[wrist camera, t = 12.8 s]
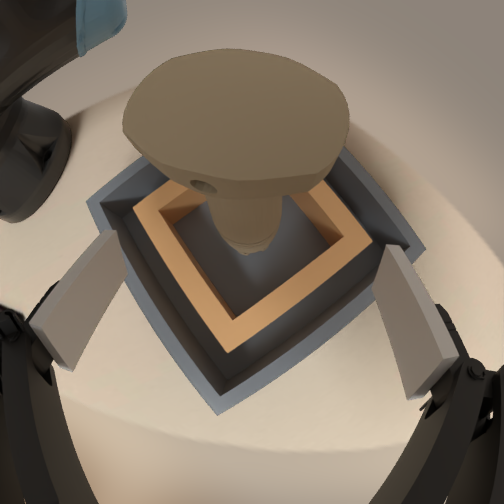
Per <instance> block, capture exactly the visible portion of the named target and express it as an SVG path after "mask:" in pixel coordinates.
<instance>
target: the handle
mask: <svg viewBox="0 0 504 504" xmlns="http://www.w3.org/2000/svg"><path fill="white" fill-rule="evenodd" d="M122 125H123V133H124V134H125V135H126V137H127V138H128V140H129V141H130V142H131V143H132V145H133V146H134V147H135V148H136V149H137V150H138V151H139V152H140V153H141V154H142V155H143V156H144V157H145V158H146V159H147V160H148V161H149V162H150V163H151V164H152V165H154V166H155V167H156V168H157V169H158V170H160V171H161V172H162V173H163V174H165V175H166V176H167V177H168V178H170V179H171V180H172V181H174V182H176V183H178V184H180V185H183V186H185V187H187V188H189V189H191V190H193V191H196V192H198V193H201V194H203V195H205V197H206V200H207V203H208V206H209V209H210V213H211V216H212V219H213V222H214V224H215V226H216V228H217V230H218V232H219V233H220V235H221V236H222V238H223V239H224V240H225V241H226V242H227V243H228V244H229V245H230V246H231V247H233V248H234V249H236V250H237V251H238V252H239V253H240V254H242V255H249V254H250V253H255V252H258V251H262V252H263V251H265V250H266V249H267V248H268V246H269V244H270V243H271V241H272V240H273V239H274V237H275V235H276V233H277V231H278V228H279V225H280V221H281V216H282V196H285V195H292V194H297V193H303V192H308V191H310V190H311V189H312V188H314V187H315V186H316V185H317V184H319V183H320V182H321V181H322V180H323V179H324V178H325V177H326V176H327V175H328V173H329V172H330V170H331V169H332V167H333V165H334V163H335V161H336V159H337V158H338V156H339V154H340V152H341V150H342V148H343V146H344V144H345V141H346V137H347V134H348V130H349V110H348V104H347V102H346V99H345V97H344V95H343V93H342V92H341V90H340V89H339V87H338V86H337V85H336V84H335V83H333V82H332V81H330V80H329V79H327V78H325V77H323V76H322V75H320V74H318V73H317V72H315V71H314V70H311V69H310V68H308V67H306V66H304V65H303V64H301V63H298V62H296V61H294V60H291V59H289V58H286V57H282V56H278V55H274V54H269V53H263V52H256V51H250V50H242V49H217V50H209V51H203V52H198V53H193V54H188V55H184V56H179V57H175V58H172V59H170V60H168V61H166V62H165V63H163V64H162V65H160V66H159V67H157V68H156V69H154V70H153V71H152V72H151V73H150V74H149V75H148V76H147V77H146V78H144V80H143V81H142V82H141V83H140V84H139V86H138V87H137V88H136V89H135V91H134V93H133V94H132V96H131V98H130V99H129V101H128V103H127V106H126V108H125V111H124V115H123V122H122Z"/></svg>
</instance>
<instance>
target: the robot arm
mask: <svg viewBox="0 0 504 504" xmlns="http://www.w3.org/2000/svg"><path fill="white" fill-rule="evenodd" d="M126 20H127V7H126V0H0V219H2V220H4V221H7V222H9V223H17V222H20V221H23V220H25V219H26V218H28V217H29V216H30V215H32V214H33V213H34V212H35V211H36V210H37V209H38V208H39V207H40V206H41V205H42V203H43V202H44V201H45V200H46V198H47V197H48V195H49V194H50V193H51V191H52V189H53V188H54V186H55V185H56V183H57V181H58V179H59V177H60V175H61V173H62V171H63V169H64V166H65V164H66V161H67V158H68V155H69V151H70V146H71V130H70V127H69V125H68V123H67V122H66V121H65V120H64V119H63V118H62V117H61V116H60V115H59V114H58V113H57V112H55V111H53V110H50V109H48V108H45V107H43V106H40V105H38V104H35V103H32V102H30V101H27V100H25V99H23V98H22V97H21V96H22V95H23V94H25V93H26V92H27V91H29V90H30V89H31V88H33V87H34V86H35V85H37V84H38V83H39V82H41V81H42V80H43V79H45V78H46V77H48V76H49V75H51V74H52V73H53V72H55V71H56V70H58V69H60V68H61V67H63V66H64V65H66V64H67V63H69V62H71V61H72V60H74V59H76V58H77V57H79V56H80V57H82V56H84V55H85V54H86V53H87V51H88V50H90V49H92V48H94V47H95V46H97V45H99V44H100V43H102V42H104V41H106V40H108V39H109V38H111V37H113V36H115V35H116V34H117V33H119V32H120V31H121V29H122V28H123V27H124V25H125V23H126ZM127 275H128V273H127V269H126V266H125V262H124V259H123V255H122V251H121V247H120V243H119V239H118V235H117V231H116V230H104V231H103V232H102V233H101V234H100V235H99V236H98V237H97V238H96V239H95V240H94V241H93V243H92V244H91V245H90V246H89V247H88V248H87V249H86V250H85V251H84V253H83V254H82V255H81V256H80V257H79V258H78V259H77V261H76V262H75V263H74V264H73V265H72V267H71V268H70V269H69V270H68V271H67V273H66V274H65V275H64V276H63V278H62V279H61V280H60V281H57V282H56V283H55V284H54V285H52V286H51V287H50V288H49V289H48V291H47V292H46V293H45V295H44V296H43V297H42V298H41V300H40V303H38V304H37V305H36V307H35V308H34V309H33V311H32V312H31V313H30V315H29V316H28V318H27V319H26V321H25V322H24V323H23V324H22V323H21V321H20V320H19V318H18V316H17V315H16V313H15V312H14V311H13V310H11V309H7V310H4V311H2V312H0V504H25V502H26V504H98V502H97V500H96V498H95V496H94V494H93V492H92V490H91V487H90V485H89V483H88V481H87V478H86V476H85V474H84V471H83V469H82V467H81V464H80V461H79V459H78V456H77V453H76V451H75V448H74V445H73V442H72V439H71V436H70V433H69V430H68V426H67V423H66V420H65V416H64V412H63V409H62V405H61V401H60V396H59V392H58V387H57V383H56V377H55V372H54V369H53V366H52V365H51V363H52V361H53V360H55V362H56V363H57V364H58V366H59V367H60V368H62V369H65V370H68V371H71V372H73V371H74V369H75V367H76V365H77V363H78V361H79V359H80V357H81V355H82V353H83V351H84V349H85V347H86V345H87V343H88V341H89V340H90V338H91V336H92V334H93V332H94V330H95V329H96V327H97V325H98V323H99V321H100V320H101V318H102V316H103V314H104V313H105V311H106V309H107V307H108V306H109V304H110V302H111V301H112V299H113V297H114V296H115V294H116V292H117V291H118V289H119V287H120V286H121V284H122V283H123V281H124V279H125V278H126V276H127ZM371 289H372V292H373V294H374V297H375V300H376V302H377V305H378V308H379V310H380V313H381V316H382V319H383V322H384V325H385V328H386V331H387V333H388V337H389V340H390V343H391V346H392V349H393V352H394V355H395V359H396V362H397V365H398V369H399V372H400V376H401V379H402V383H403V387H404V390H405V394H406V398H407V400H412V399H418V398H423V397H424V396H425V395H426V394H427V393H428V391H429V390H431V394H432V397H431V398H430V399H429V400H428V401H427V402H426V403H425V404H424V405H423V406H422V407H421V408H420V409H419V410H420V411H422V410H423V409H424V408H425V410H424V412H423V414H422V416H421V418H420V420H419V423H418V425H417V427H416V429H415V431H414V433H413V434H412V436H411V438H410V440H409V442H408V444H407V446H406V447H405V449H404V451H403V453H402V455H401V456H400V458H399V460H398V461H397V463H396V465H395V466H394V468H393V469H392V471H391V473H390V474H389V476H388V477H387V479H386V480H385V482H384V483H383V485H382V486H381V488H380V489H379V490H378V492H377V493H376V494H375V496H374V497H373V499H372V500H371V501H370V503H369V504H444V502H445V500H446V498H447V500H446V503H445V504H504V365H503V366H502V367H501V368H500V369H499V370H498V371H497V372H496V371H489V370H486V369H485V367H484V366H483V364H482V363H481V362H480V361H478V360H477V359H474V358H470V357H469V355H468V353H467V351H466V348H465V346H464V344H463V342H462V340H461V338H460V336H459V334H458V332H457V331H456V328H455V326H454V324H453V323H452V320H451V318H450V316H449V314H448V312H447V311H446V310H445V309H444V308H443V307H442V306H441V305H440V304H434V302H433V301H432V299H431V297H430V295H429V293H428V292H427V290H426V288H425V286H424V284H423V283H422V281H421V279H420V278H419V276H418V274H417V273H416V271H415V269H414V268H413V266H412V264H411V263H410V261H409V259H408V258H407V256H406V255H405V253H404V252H403V250H402V248H401V247H400V245H388V244H386V246H385V250H384V253H383V256H382V259H381V262H380V265H379V268H378V271H377V274H376V277H375V280H374V283H373V286H372V288H371ZM492 411H493V418H492V419H490V413H491V412H492ZM447 496H448V497H447ZM24 499H25V501H24Z"/></svg>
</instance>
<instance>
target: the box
mask: <svg viewBox="0 0 504 504" xmlns="http://www.w3.org/2000/svg"><path fill="white" fill-rule="evenodd" d="M86 203H87V205H88V208H89V210H90V212H91V215H92V217H93V219H94V221H95V224H96V226H97V228H98V230H99V232H100V234H101V233H102V232H103V231H104V230H116V231H117V235H118V239H119V243H120V247H121V251H122V255H123V259H124V262H125V266H126V269H127V273H128V275H127V276H126V278H125V279H124V281H125V283H126V285H127V286H128V288H129V290H130V292H131V293H132V295H133V297H134V299H135V300H136V302H137V304H138V305H139V307H140V309H141V310H142V312H143V314H144V315H145V317H146V318H147V320H148V322H149V323H150V325H151V326H152V328H153V329H154V331H155V333H156V334H157V336H158V337H159V339H160V340H161V342H162V343H163V345H164V346H165V348H166V349H167V351H168V352H169V353H170V355H171V356H172V358H173V359H174V361H175V362H176V363H177V365H178V366H179V368H180V369H181V370H182V372H183V373H184V374H185V376H186V377H187V378H188V380H189V381H190V382H191V384H192V385H193V386H194V388H195V389H196V390H197V391H198V393H199V394H200V395H201V397H202V398H203V399H204V400H205V402H206V403H207V404H208V405H209V406H210V408H211V409H212V410H213V411H214V412H215V414H216V415H217V416H218V415H219V414H221V413H223V412H225V411H226V410H228V409H230V408H231V407H233V406H235V405H236V404H238V403H239V402H241V401H243V400H244V399H246V398H248V397H249V396H251V395H252V394H254V393H255V392H257V391H258V390H260V389H262V388H263V387H265V386H266V385H268V384H269V383H271V382H272V381H273V380H275V379H276V378H278V377H279V376H281V375H282V374H284V373H285V372H286V371H288V370H289V369H291V368H292V367H293V366H295V365H296V364H298V363H299V362H300V361H302V360H303V359H304V358H306V357H307V356H308V355H310V354H311V353H312V352H314V351H315V350H316V349H318V348H319V347H320V346H321V345H323V344H324V343H325V342H326V341H328V340H329V339H330V338H331V337H333V336H334V335H335V334H336V333H338V332H339V331H340V330H341V329H342V328H344V327H345V326H346V325H347V324H348V323H350V322H351V321H352V320H353V319H354V318H355V317H357V316H358V315H359V314H360V313H361V312H362V311H363V310H365V309H366V308H367V307H368V306H369V305H370V304H371V303H372V302H373V301H375V297H374V294H373V292H372V289H371V288H372V286H373V283H374V280H375V277H376V274H377V271H378V268H379V265H380V262H381V259H382V256H383V253H384V250H385V246H386V244H388V245H400V247H401V248H402V250H403V252H404V253H405V255H406V256H407V258H408V259H409V261H410V263H411V264H413V263H414V262H415V261H416V259H417V258H418V257H419V256H420V255H421V254H422V253H423V252H424V251H425V250H426V248H425V247H424V245H423V244H422V242H421V241H420V239H419V238H418V236H417V235H416V233H415V232H414V231H413V229H412V228H411V226H410V225H409V224H408V222H407V221H406V220H405V218H404V217H403V216H402V214H401V213H400V212H399V210H398V209H397V208H396V206H395V205H394V204H393V202H392V201H391V200H390V199H389V197H388V196H387V195H386V194H385V192H384V191H383V190H382V189H381V188H380V186H379V185H378V184H377V183H376V182H375V180H374V179H373V178H372V177H371V176H370V174H369V173H368V172H367V171H366V170H365V169H364V168H363V166H362V165H361V164H360V163H359V162H358V161H357V160H356V159H355V158H354V156H353V155H352V154H351V153H350V152H349V151H348V150H347V149H346V148H345V147H344V146H343V148H342V150H341V152H340V154H339V156H338V158H337V159H336V161H335V163H334V165H333V167H332V169H331V170H330V172H329V173H328V175H327V176H326V177H325V178H324V179H323V180H322V181H321V182H320V183H319V184H317V185H316V186H315V187H314V188H312V189H311V190H310V191H308V192H303V193H297V194H292V195H285V196H282V216H281V221H280V225H279V228H278V231H277V233H276V235H275V237H274V239H273V240H272V241H271V243H270V244H269V246H268V248H267V249H266V250H265V251H263V252H262V251H258V252H255V253H250V254H249V255H242V254H240V253H239V252H238V251H237V250H236V249H234V248H233V247H231V246H230V245H229V244H228V243H227V242H226V241H225V240H224V239H223V238H222V236H221V235H220V233H219V232H218V230H217V228H216V226H215V224H214V222H213V219H212V216H211V213H210V209H209V206H208V203H207V200H206V197H205V195H203V194H201V193H198V192H196V191H193V190H191V189H189V188H187V187H185V186H183V185H180V184H178V183H176V182H174V181H172V180H171V179H170V178H168V177H167V176H166V175H165V174H163V173H162V172H161V171H160V170H158V169H157V168H156V167H155V166H154V165H152V164H151V163H150V162H149V161H148V160H147V159H146V158H145V157H144V156H142V157H140V158H139V159H138V160H136V161H135V162H134V163H132V164H131V165H130V166H128V167H127V168H126V169H124V170H123V171H122V172H121V173H119V174H118V175H117V176H116V177H114V178H113V179H112V180H111V181H109V182H108V183H107V184H106V185H104V186H103V187H102V188H101V189H100V190H98V191H97V192H96V193H95V194H94V195H93V196H91V197H90V198H89V199H88V200H87V201H86Z"/></svg>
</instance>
